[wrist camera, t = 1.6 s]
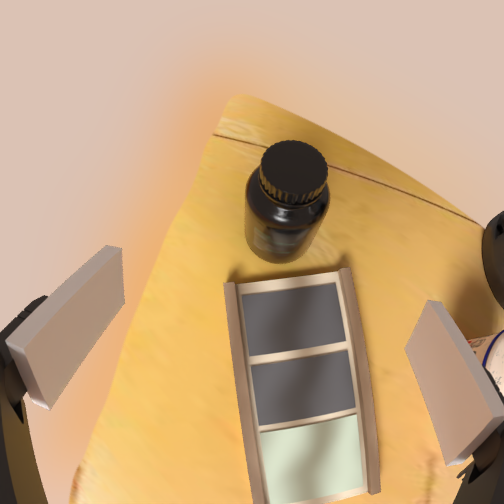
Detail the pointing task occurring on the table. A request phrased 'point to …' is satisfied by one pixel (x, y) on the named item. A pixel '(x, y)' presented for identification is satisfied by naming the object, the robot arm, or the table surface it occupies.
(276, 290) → the window panel
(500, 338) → the teacup with lid
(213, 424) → the table surface
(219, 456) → the table surface
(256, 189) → the supplement bottle
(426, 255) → the table surface
